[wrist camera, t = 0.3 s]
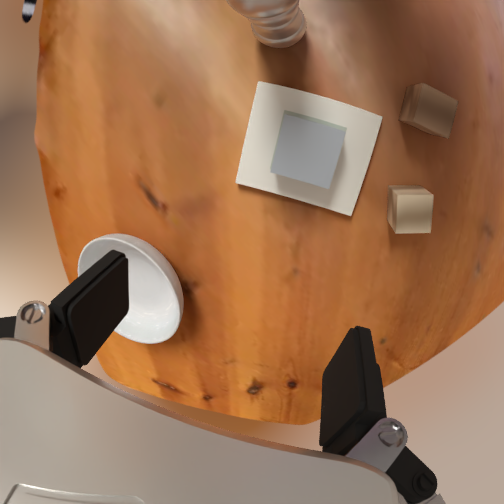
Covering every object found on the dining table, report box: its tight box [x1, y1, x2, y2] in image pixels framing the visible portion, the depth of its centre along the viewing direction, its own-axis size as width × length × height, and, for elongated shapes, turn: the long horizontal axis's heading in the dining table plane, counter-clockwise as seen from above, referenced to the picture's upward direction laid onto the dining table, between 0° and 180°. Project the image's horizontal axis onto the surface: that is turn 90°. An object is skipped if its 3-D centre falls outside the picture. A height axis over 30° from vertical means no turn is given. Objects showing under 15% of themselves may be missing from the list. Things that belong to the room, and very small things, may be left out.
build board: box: [236, 81, 382, 216], centre depth 35 cm, size 14×16×1 cm
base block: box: [270, 114, 346, 189], centre depth 33 cm, size 7×7×4 cm
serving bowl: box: [78, 234, 184, 344], centre depth 47 cm, size 21×21×7 cm
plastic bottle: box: [226, 0, 307, 48], centre depth 20 cm, size 6×7×20 cm
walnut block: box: [399, 83, 458, 139], centre depth 27 cm, size 5×5×6 cm
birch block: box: [387, 185, 434, 234], centre depth 34 cm, size 5×5×5 cm
